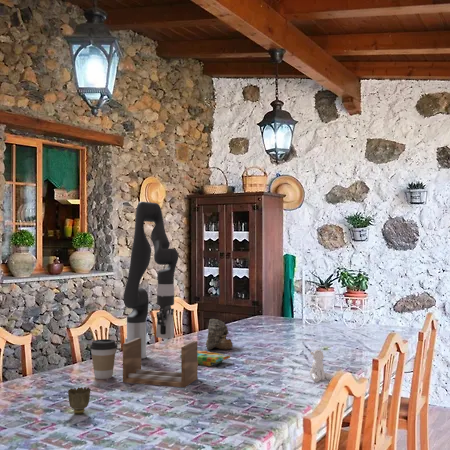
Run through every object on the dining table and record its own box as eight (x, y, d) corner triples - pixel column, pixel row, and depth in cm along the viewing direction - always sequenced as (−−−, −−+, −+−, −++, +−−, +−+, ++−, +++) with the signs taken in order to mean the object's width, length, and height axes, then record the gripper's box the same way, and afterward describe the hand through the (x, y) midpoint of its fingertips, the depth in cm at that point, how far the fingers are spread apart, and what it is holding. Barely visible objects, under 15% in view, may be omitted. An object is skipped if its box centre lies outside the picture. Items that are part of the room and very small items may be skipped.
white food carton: (170, 338, 264) (170, 315, 264) (156, 337, 266) (156, 314, 266) (173, 337, 267) (174, 314, 267) (159, 335, 269) (160, 313, 269)
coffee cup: (122, 375, 258) (122, 339, 258) (108, 381, 247) (108, 344, 247) (98, 373, 262) (98, 338, 262) (84, 379, 251) (84, 342, 251)
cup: (69, 410, 208) (69, 386, 208) (91, 409, 209) (91, 386, 209) (66, 416, 201) (66, 392, 201) (88, 416, 201) (88, 392, 201)
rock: (201, 314, 320) (228, 310, 317) (209, 331, 329) (236, 327, 326) (198, 342, 306) (227, 338, 303) (207, 359, 315) (234, 355, 312)
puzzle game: (195, 348, 293) (230, 353, 282) (195, 358, 293) (230, 363, 282) (180, 352, 283) (215, 357, 272) (180, 362, 283) (215, 368, 272)
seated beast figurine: (315, 382, 245) (315, 353, 245) (302, 378, 253) (302, 349, 253) (334, 380, 249) (333, 350, 249) (321, 375, 257) (321, 347, 257)
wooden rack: (122, 382, 246) (122, 343, 246) (138, 374, 260) (138, 337, 260) (184, 387, 238) (184, 347, 238) (197, 378, 251) (197, 341, 251)
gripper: (164, 292, 274) (163, 330, 275) (150, 295, 261) (150, 335, 261) (179, 292, 272) (179, 331, 272) (166, 296, 259) (166, 336, 259)
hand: (165, 333), depth 267 cm, fingers closed on white food carton, 3 cm apart
